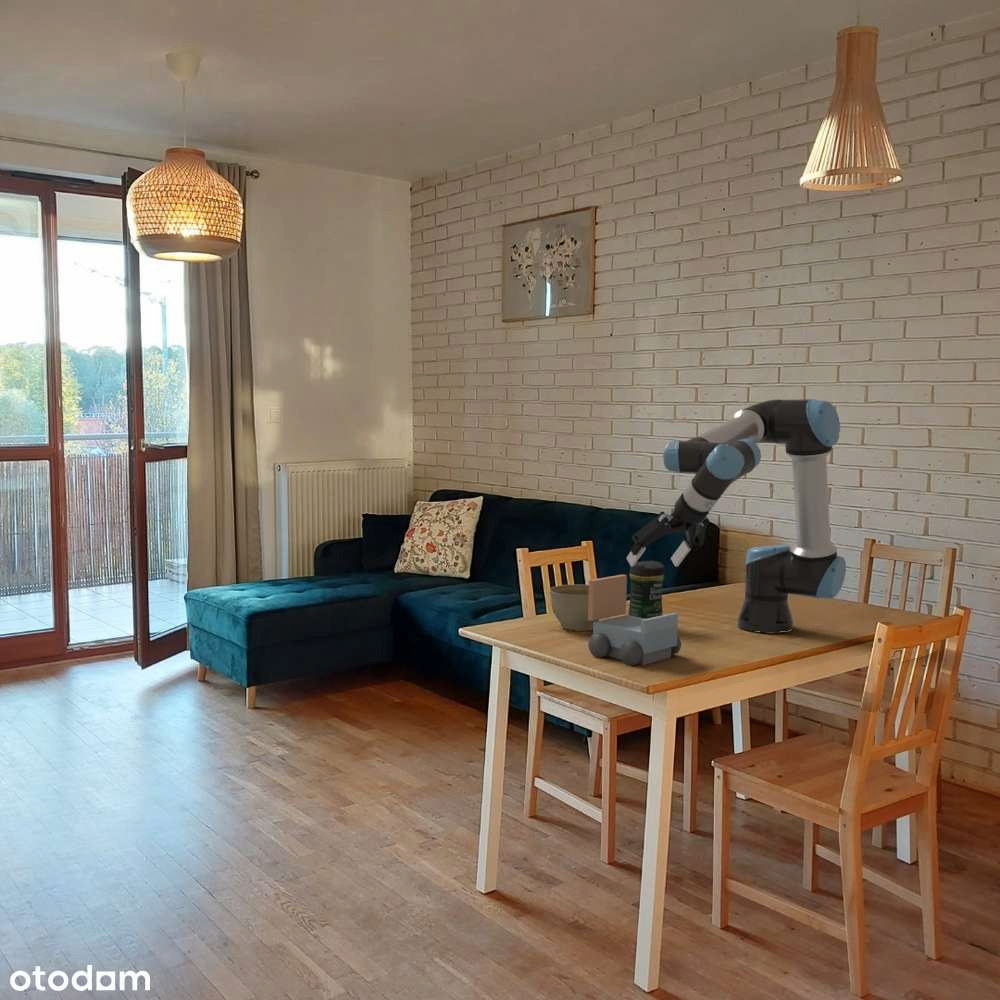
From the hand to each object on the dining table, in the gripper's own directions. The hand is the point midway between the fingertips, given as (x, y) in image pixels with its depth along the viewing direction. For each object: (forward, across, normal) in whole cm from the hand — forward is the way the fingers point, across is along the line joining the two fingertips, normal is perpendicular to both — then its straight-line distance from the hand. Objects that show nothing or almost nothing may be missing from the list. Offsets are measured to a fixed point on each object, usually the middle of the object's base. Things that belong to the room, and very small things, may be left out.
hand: (652, 562), depth 245 cm
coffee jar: (+36, +23, +7) cm, 43 cm away
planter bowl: (+42, +5, +12) cm, 44 cm away
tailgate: (+20, -2, 0) cm, 21 cm away
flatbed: (+21, 0, -12) cm, 24 cm away
